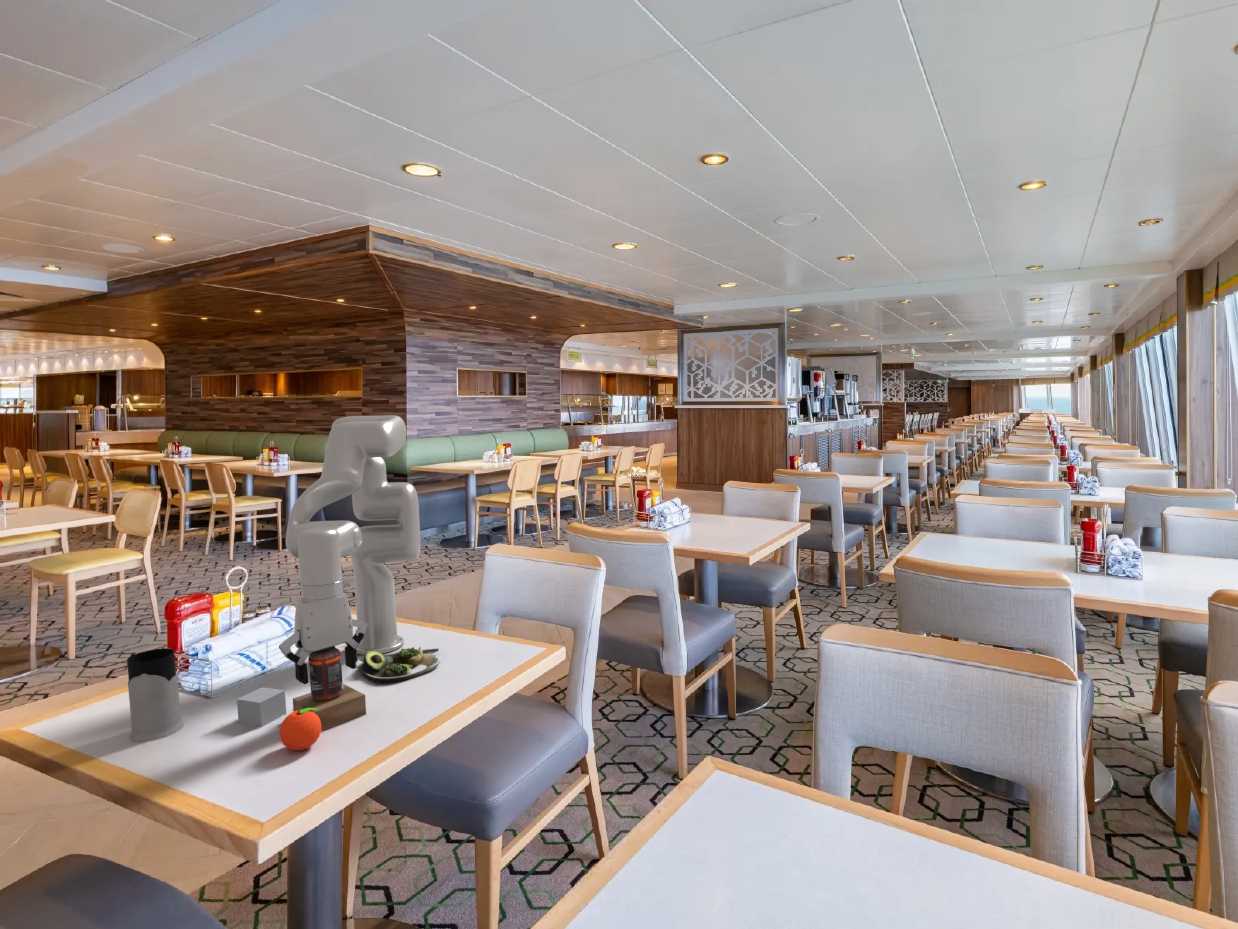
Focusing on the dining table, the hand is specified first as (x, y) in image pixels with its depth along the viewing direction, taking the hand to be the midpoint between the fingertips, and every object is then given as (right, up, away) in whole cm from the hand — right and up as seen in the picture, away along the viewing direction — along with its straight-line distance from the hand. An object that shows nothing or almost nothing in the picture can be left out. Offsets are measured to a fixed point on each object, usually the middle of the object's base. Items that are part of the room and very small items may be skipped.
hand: (327, 674), depth 135 cm
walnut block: (0, -9, +1) cm, 9 cm away
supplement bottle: (0, -5, +1) cm, 5 cm away
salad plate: (+6, -7, +25) cm, 27 cm away
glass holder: (-32, -10, -1) cm, 34 cm away
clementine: (+1, -10, -12) cm, 15 cm away
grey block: (-13, -9, 0) cm, 16 cm away
